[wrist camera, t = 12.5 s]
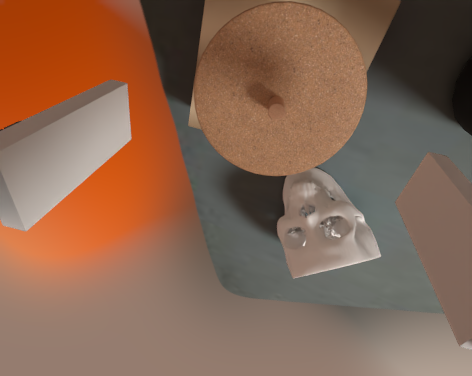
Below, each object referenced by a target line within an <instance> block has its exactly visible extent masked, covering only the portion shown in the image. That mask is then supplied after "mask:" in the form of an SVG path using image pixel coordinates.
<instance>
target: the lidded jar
mask: <svg viewBox="0 0 472 376" xmlns="http://www.w3.org/2000/svg"><path fill="white" fill-rule="evenodd" d="M366 96H367V74H366V67H365V63H364V60H363V56H362V53H361V51H360V49H359V47H358V45H357V43H356V41H355V39H354V38H353V37H352V35H351V34H350V32H349V31H348V30H347V28H346V27H345V26H343V25H342V24H341V23H340V22H339V21H338V20H337V19H336V18H335V17H333V16H331V15H330V14H328V13H327V12H325V11H323V10H322V9H319V8H316V7H314V6H311V5H308V4H305V3H299V2H293V1H278V2H270V3H266V4H261V5H258V6H255V7H253V8H250V9H248V10H245V11H243V12H242V13H240V14H239V15H237V16H235V17H234V18H232V19H231V20H230V21H228V22H227V23H226V24H225V25H224V26H223V27H222V28H221V29H220V30H219V31H218V32H217V33H216V34H215V36H214V37H213V38H212V39H211V41H210V42H209V44H208V45H207V47H206V49H205V51H204V52H203V54H202V57H201V59H200V62H199V65H198V67H197V72H196V76H195V81H194V103H195V110H196V114H197V118H198V121H199V124H200V126H201V128H202V131H203V133H204V134H205V136H206V138H207V139H208V141H209V142H210V144H211V145H212V146H213V147H214V148H215V150H216V151H217V152H218V153H219V154H221V155H222V156H223V157H224V158H225V159H226V160H228V161H229V162H231V163H232V164H234V165H236V166H238V167H240V168H242V169H244V170H246V171H249V172H252V173H255V174H261V175H266V176H284V175H292V174H296V173H301V172H304V171H306V170H309V169H312V168H314V167H316V166H318V165H319V164H321V163H323V162H325V161H326V160H327V159H329V158H330V157H332V156H333V155H334V154H335V153H336V152H337V151H338V150H339V149H340V148H342V147H343V145H344V144H345V143H346V142H347V140H348V139H349V138H350V137H351V135H352V134H353V132H354V130H355V128H356V127H357V125H358V123H359V120H360V118H361V115H362V113H363V110H364V105H365V101H366Z"/></svg>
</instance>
